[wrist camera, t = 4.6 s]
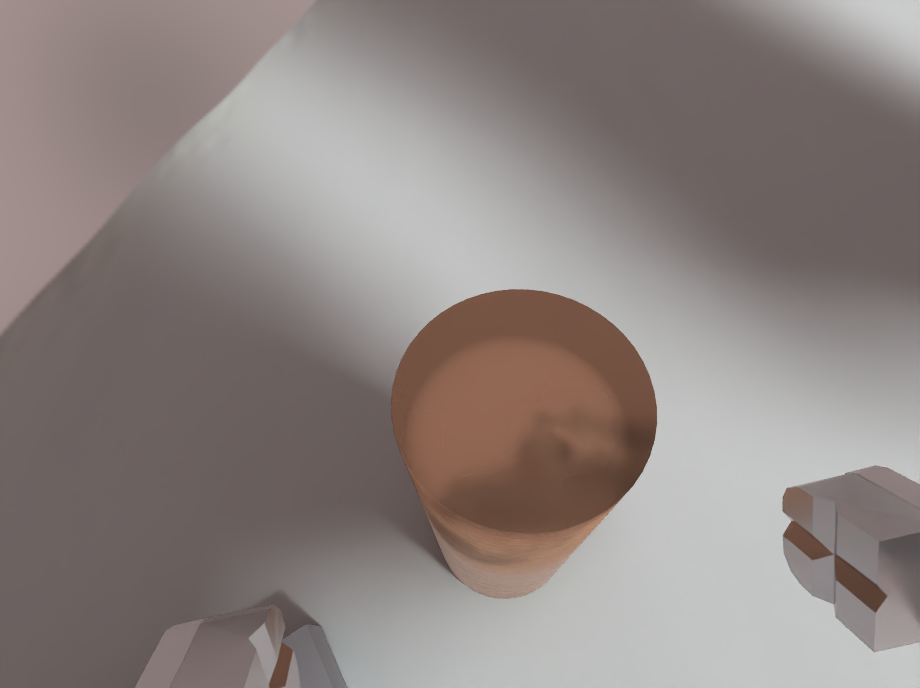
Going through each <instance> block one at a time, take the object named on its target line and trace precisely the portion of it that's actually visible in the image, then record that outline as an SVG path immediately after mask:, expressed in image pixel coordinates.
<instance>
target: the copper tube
mask: <svg viewBox="0 0 920 688" xmlns="http://www.w3.org/2000/svg"><path fill="white" fill-rule="evenodd" d="M391 411H392V422H393V428H394V434H395V437H396V440H397V443H398V446H399V449H400V452H401V454H402V457H403V459H404V461H405V464H406V466H407V469H408V471H409V474H410V476H411V478H412V481H413V483H414V486H415V488H416V490H417V493H418V495H419V498H420V500H421V503H422V505H423V507H424V510H425V512H426V515H427V517H428V520H429V522H430V524H431V527H432V529H433V532H434V534H435V537H436V539H437V541H438V544H439V546H440V549H441V551H442V554H443V556H444V558H445V560H446V562H447V564H448V566H449V567H450V569H451V570H452V572H453V573H454V574H455V575H456V577H457V578H458V579H459V580H460V581H461V582H463V583H464V584H465V585H466V586H468V587H469V588H471V589H472V590H474V591H476V592H478V593H480V594H483V595H486V596H489V597H494V598H504V599H508V598H516V597H520V596H524V595H526V594H529V593H531V592H533V591H535V590H536V589H538V588H540V587H541V586H542V585H543V584H545V583H546V582H547V581H548V580H549V579H550V578H551V577H552V575H553V574H554V573H555V572H556V571H557V570H558V569H559V568H560V567H561V565H562V564H563V563H564V562H565V561H566V560H567V559H568V558H569V556H570V555H571V554H572V553H573V552H574V551H575V550H576V549H577V548H578V546H579V545H580V544H581V543H582V542H583V541H584V540H585V539H586V538H587V536H588V535H589V534H590V533H591V532H592V531H593V530H594V529H595V528H596V526H597V525H598V524H599V523H600V522H601V521H602V520H603V519H604V517H605V516H606V515H607V514H608V513H609V512H610V511H611V510H612V509H613V507H614V506H615V505H616V504H617V503H618V502H619V501H620V500H621V499H622V497H623V496H624V495H625V494H626V493H627V492H628V491H629V490H630V488H631V487H632V486H633V485H634V483H635V482H636V480H637V479H638V477H639V476H640V475H641V473H642V472H643V469H644V467H645V465H646V463H647V461H648V459H649V457H650V454H651V450H652V447H653V444H654V440H655V433H656V426H657V406H656V400H655V393H654V389H653V386H652V382H651V379H650V376H649V373H648V371H647V369H646V367H645V365H644V362H643V361H642V359H641V357H640V356H639V354H638V352H637V351H636V349H635V348H634V346H633V345H632V344H631V343H630V341H629V340H628V339H627V338H626V337H625V335H624V334H623V333H622V332H621V331H620V330H619V329H618V328H616V327H615V326H614V325H613V324H612V323H611V322H610V321H608V320H607V319H606V318H604V317H603V316H602V315H600V314H599V313H597V312H595V311H594V310H592V309H591V308H589V307H587V306H585V305H583V304H581V303H579V302H577V301H574V300H572V299H569V298H566V297H563V296H560V295H557V294H552V293H548V292H543V291H535V290H516V289H512V290H502V291H494V292H490V293H485V294H481V295H478V296H475V297H472V298H469V299H466V300H464V301H462V302H460V303H457V304H455V305H453V306H452V307H450V308H448V309H447V310H445V311H443V312H442V313H440V314H439V315H438V316H437V317H435V318H434V319H433V320H431V321H430V322H429V323H428V324H427V325H426V326H425V327H424V328H423V329H422V330H421V331H420V332H419V333H418V335H417V336H416V337H415V339H414V340H413V341H412V342H411V344H410V345H409V347H408V349H407V350H406V352H405V354H404V356H403V357H402V360H401V362H400V365H399V367H398V370H397V372H396V376H395V380H394V384H393V390H392V399H391Z"/></svg>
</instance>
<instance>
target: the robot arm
mask: <svg viewBox="0 0 920 688" xmlns="http://www.w3.org/2000/svg"><path fill="white" fill-rule="evenodd" d="M783 512H784V513H785V514H786V515H787V517H788V518H789V519H790V520H791V523H790V524H789V526H788V528H787V529H786V531H785V533H784V534H783V547H784V555H785V558H786V560H787V563H788V565H789V568H790V570H791V572H792V573H793V575H794V576H795V577H796V579H797V580H798V582H799V583H800V584H801V585H802V586H803V587H804V588H805V589H806V590H807V591H808V592H809V593H810V594H811V595H812V596H815V597H817V598H820V599H822V600H825V601H827V602H830V603H832V604H834V610H835V616H836V618H837V619H838V620H839V621H840V622H842V623H843V624H844V625H845V626H846V627H847V628H848V629H849V630H850V631H851V632H852V633H854V634H855V635H856V636H857V637H858V638H859V639H860V640H861V641H862V642H863V643H864V644H866V645H867V646H868V647H869V648H870V649H871V650H872V651H873V652H877V651H882V650H886V649H891V648H895V647H900V646H904V645H909V644H913V643H918V642H920V484H918V483H916V482H914V481H912V480H910V479H908V478H906V477H904V476H902V475H901V474H899V473H897V472H895V471H893V470H891V469H889V468H886V467H880V466H871V467H868V468H864V469H860V470H856V471H852V472H848V473H845V474H844V475H841V476H837V477H832V478H828V479H824V480H819V481H815V482H811V483H806V484H802V485H798V486H793V487H789V488H787V489H786V491H785V493H784V496H783ZM285 627H286V625H285V622H284V619H283V616H282V614H281V611H280V608H279V607H277V606H276V605H274V604H271V605H266V606H261V607H257V608H252V609H247V610H242V611H237V612H232V613H227V614H222V615H217V616H212V617H208V618H207V619H199V620H194V621H190V622H185V623H181V624H176V625H173V626H172V627H170V628H169V629H167V630H166V631H165V632H164V634H163V636H162V638H161V640H160V641H159V643H158V645H157V647H156V649H155V651H154V652H153V654H152V656H151V658H150V660H149V662H148V664H147V665H146V667H145V669H144V671H143V673H142V675H141V677H140V678H139V680H138V682H137V684H136V686H135V688H300V678H299V672H298V665H297V661H296V658H295V654H294V651H293V649H291V648H290V647H288V646H287V645H285V644H284V643H283V642H282V639H283V635H284V631H285Z"/></svg>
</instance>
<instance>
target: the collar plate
mask: <svg viewBox="0 0 920 688" xmlns="http://www.w3.org/2000/svg"><path fill="white" fill-rule="evenodd" d="M282 642H283V643H284V644H285V645H287V646H288V647H290V648H291V649H293V651H294V654H295V658H296V661H297V665H298V672H299V678H300V688H347V686H346V684H345V681H344V679H343V677H342V674H341V672H340V670H339V667H338V665H337V663H336V660H335V658H334V656H333V653H332V651H331V648H330V646H329V644H328V641H327V639H326V637H325V634H324V632H323V630H322V627H321V626H316V625H310V624H305V625H304V626H302V627H301V628H299V629H298V630H296V631H295V632H293V633H291V634H290V635H288V636H287V637H285V638H284V639H282Z"/></svg>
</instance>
